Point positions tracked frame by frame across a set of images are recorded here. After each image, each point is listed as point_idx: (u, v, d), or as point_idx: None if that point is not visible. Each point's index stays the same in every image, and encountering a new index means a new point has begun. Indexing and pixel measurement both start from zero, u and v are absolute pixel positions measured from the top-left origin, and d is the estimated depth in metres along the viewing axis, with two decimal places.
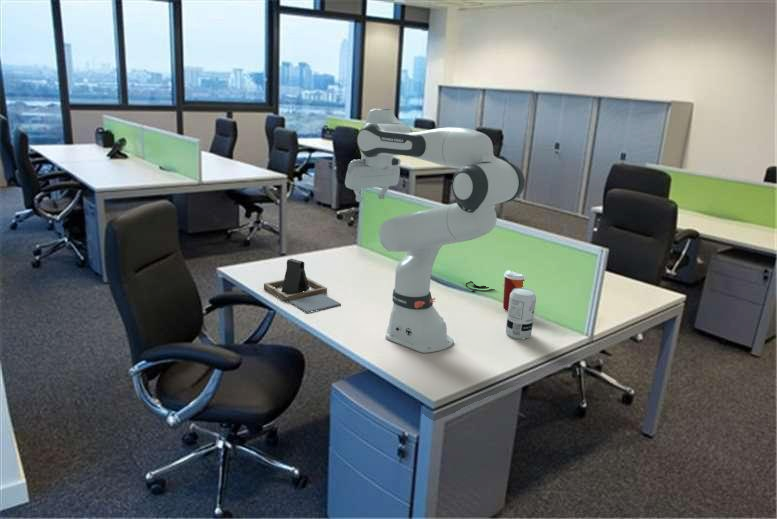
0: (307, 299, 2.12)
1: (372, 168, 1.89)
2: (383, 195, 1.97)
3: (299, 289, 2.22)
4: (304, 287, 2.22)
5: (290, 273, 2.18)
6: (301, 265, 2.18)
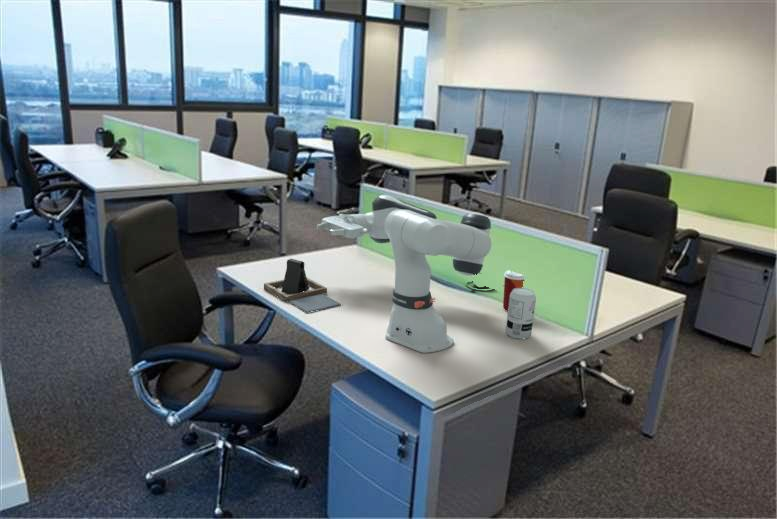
0: (307, 299, 2.12)
1: None
2: None
3: (299, 289, 2.22)
4: (304, 287, 2.22)
5: (290, 273, 2.18)
6: (301, 265, 2.18)
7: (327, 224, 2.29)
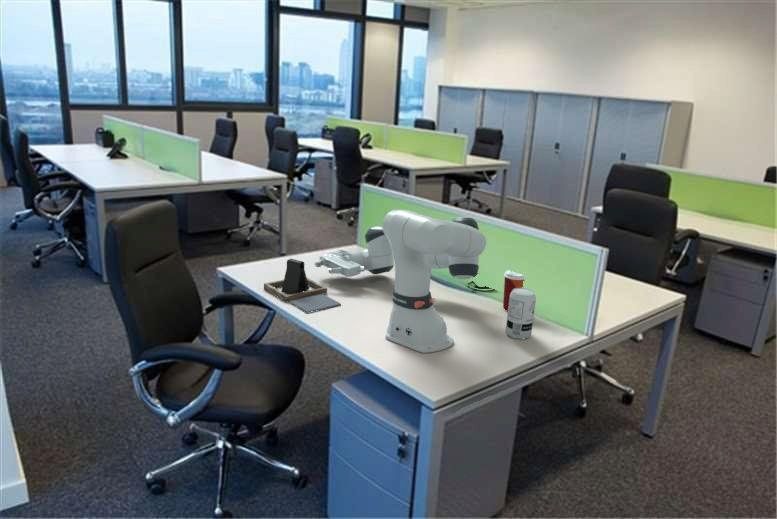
0: (307, 299, 2.12)
1: None
2: None
3: (299, 289, 2.22)
4: (304, 287, 2.22)
5: (290, 273, 2.18)
6: (301, 265, 2.18)
7: (325, 261, 2.33)
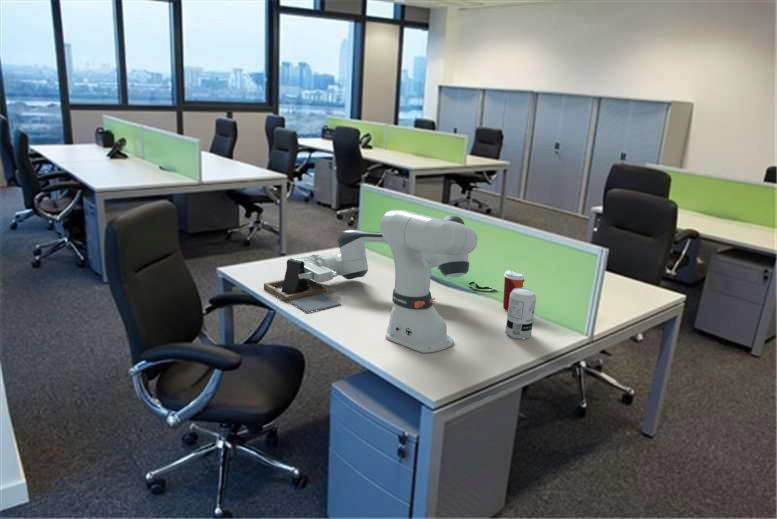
0: (307, 299, 2.12)
1: None
2: None
3: (299, 289, 2.22)
4: (304, 286, 2.22)
5: (290, 273, 2.18)
6: (301, 265, 2.18)
7: None
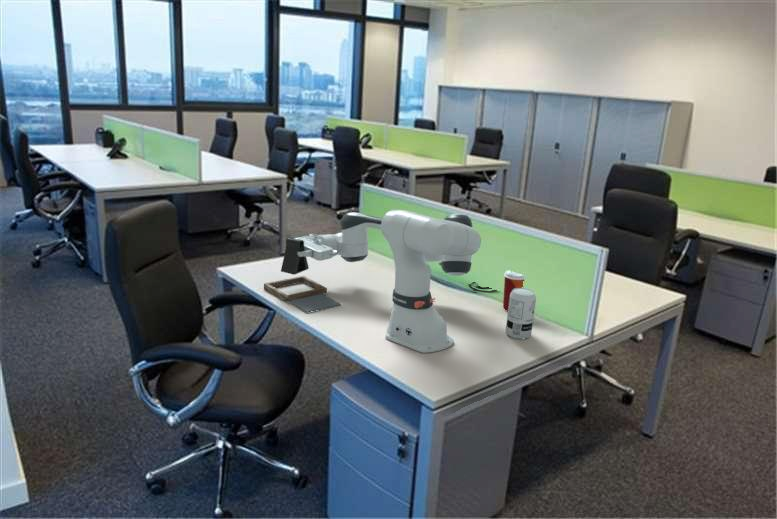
0: (307, 299, 2.12)
1: None
2: None
3: (299, 268, 2.19)
4: (304, 266, 2.19)
5: (289, 252, 2.15)
6: (301, 244, 2.16)
7: None
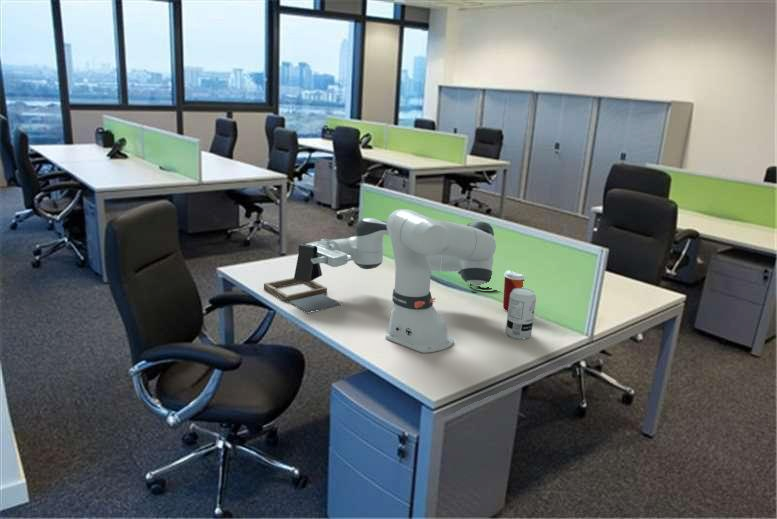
0: (307, 299, 2.12)
1: None
2: None
3: (312, 275, 2.11)
4: (317, 273, 2.11)
5: (302, 259, 2.07)
6: (314, 250, 2.08)
7: None
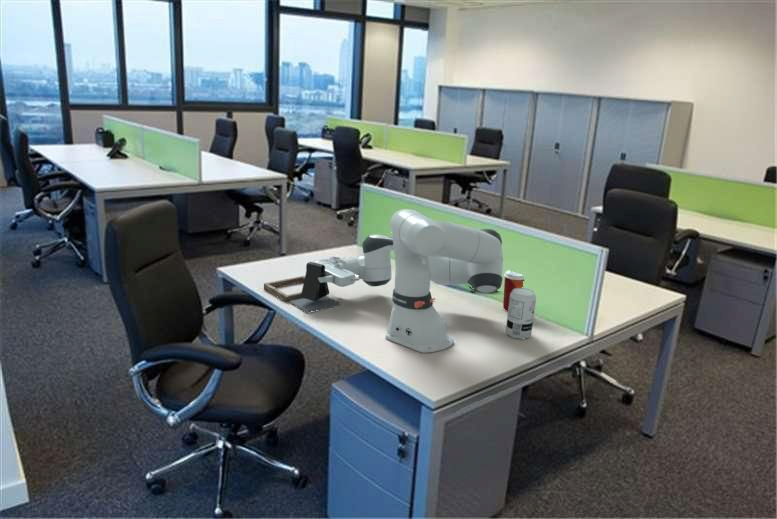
0: (307, 299, 2.12)
1: None
2: None
3: (319, 294, 2.10)
4: (325, 291, 2.10)
5: (309, 277, 2.06)
6: (321, 269, 2.06)
7: None
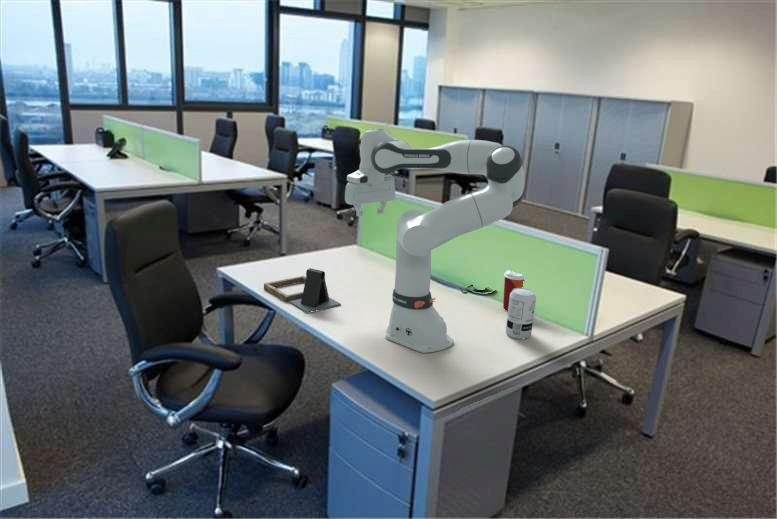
0: None
1: None
2: None
3: (319, 300, 2.10)
4: (324, 297, 2.10)
5: (309, 284, 2.06)
6: (321, 275, 2.07)
7: None
